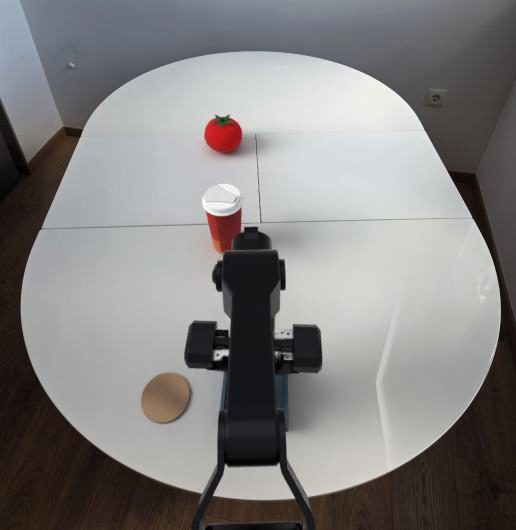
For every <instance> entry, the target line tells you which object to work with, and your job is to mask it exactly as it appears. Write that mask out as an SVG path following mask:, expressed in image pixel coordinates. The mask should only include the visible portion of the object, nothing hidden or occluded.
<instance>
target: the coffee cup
mask: <svg viewBox="0 0 516 530" xmlns="http://www.w3.org/2000/svg"><path fill="white" fill-rule="evenodd" d="M201 202H202V207H203V209H204V210H205V215H206V220H207V223H208V228H209V233H210V236H211V237H210V238H211V242H212V245H213V248H214V250H215V251H216V252H217V253H219V254H221V255H223V253H224V251H228V250H231V241H232V240H233V238H234V237H235V236H236V235H238V234H239V233H242V217H243V215H242V214H243V213H242V207H243V205H244V196H243V194H242V193H241V191H240V190H239V189H238V188H237V187H236V186H235V185H233V184H229V183H219V184H215V185H213V186H211V187H209V189H208V190H206V191H205V193H204V195H203V196H202V199H201Z"/></svg>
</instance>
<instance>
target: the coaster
mask: <svg viewBox="0 0 516 530" xmlns="http://www.w3.org/2000/svg"><path fill="white" fill-rule="evenodd" d="M190 392H191V391H190V387H189V385H188V383H187V380H186V379H185V378H184V377H183V376H182V375H180V374H178V373H176V372H162V373H159V374H157V375H155V376H154V377H153V378H151V379H150V381H148V382H147V384H146V385H145V387H144V389H143V391H142V394H141V398H140V405H141V410H142V412H143V414H144V416H145V417H146V418H147V419H148V420H150V421H151V422H153V423H156V424H168V423H171V422H173V421H175V420H177V419H178V418H179V417H181V415H182V414H183V413H184V412H185V410H186V409H187V407H188V404H189V402H190V397H191V393H190Z"/></svg>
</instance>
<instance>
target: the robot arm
mask: <svg viewBox="0 0 516 530" xmlns="http://www.w3.org/2000/svg"><path fill="white" fill-rule="evenodd" d="M272 240H273V239H271V237H270V236H269V235H268V234H266V233H264V232H262V231H259V226H244V227H243V231H241V233H239V234H238V235H236V236H235V237H234V238H233V240H232V241H231V250H228V251H224V253H223V254H222V259H217V261H216V263H215V264H214V267H213V269H212V271H211V282H212V283H213V284H214V285H215V290H216V291H217V293H222V307H223V313H224V314H225V315H226V316H227V317H228V318H229V320H230V323H229V324H230V326H229V329H219V328H218V321H217V320H198V319H197V320H193V321H192V322H190V324H189V325H188V329H187V335H186V341H185V345H184V346H185V347H184V351H183V360H184V364H185V365H186V367H187V368H188V369H195V370H197V369H198V370H199V369H200V370H206V371H212V372H219V373H224V372H225V373H228V378H227V396H226V409H224V410H220V409H219V410H218V416H217V434H216V435H217V436H216V438H217V440H216V443H217V445H216V447H217V448H216V461H217V462H216V465H215V467H214V469H213V471H212V473H211V475H210V476H209V479H208V481H207V483H206V485H205V487H204V489H203V491H202V493H201V495H200V497H199V499H198V503H197V506H196V509H195V512H194V514H193V518H192V520H191V521H192V523H191V529H190V530H316V524H315V523H316V522H315V517H314V515H313V511H312V507H311V504H310V501H309V498H308V494H307V492H306V491H305V489H304V486H303V484H302V483H301V482H300V480H299V478H298V476H297V475H296V472H295V470H294V468H293V467H292V465H291V463H290V462H289V460H288V453H287V431H286V426H285V413H284V408H277V395H276V379H275V376H278V375H286V374H288V375H299V374H319V373H320V372H321V370H322V368H323V343H322V331H321V330H322V329H320V327H319V326H318V325H317V324H311V323H308V324H305V323H292V329H291V328H286V329H285V330H283V331H280V332H276V315H278V314H279V312H280V311H281V291H286V289H287V275H286V274H287V273H286V272H287V271H286V260H285V258H280V256H279V255H280V254H279V251H278V249H275V248H273V241H272ZM274 351H276V352H277V353H276V355H277V358H276V364H275V363H274ZM278 465H279V468H280V472H281V475H282V477H283V479H284V481H285V483H286V485H287V486H288V488H289V490H290V491H291V494H292V496H293V497H294V500H295V501H296V503H297V505H298V507H299V508H300V510H301V512H302V523H301V522H300V521H299V520H282V521H281V520H280V521H278V520H277V521H245V522H210V523H209V522H208V524H207V525H206V510H207V508H208V506H209V504H210V502H211V500H212V499H213V497H214V495H215V492H216V491H217V488H218V486H219V484H220V482H221V480H222V479H223V476H224V472H225V467H226V466H227V468H228V469H229V468H230V469H231V468H234V469H235V468H263V467H264V468H265V467H267V468H268V467H269V468H270V467H278Z"/></svg>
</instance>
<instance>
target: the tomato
mask: <svg viewBox="0 0 516 530" xmlns="http://www.w3.org/2000/svg"><path fill="white" fill-rule="evenodd" d="M214 116H215V117H214V118H211V120H209V121H208V123H207V124H206V126H205V128H204V131H203V133H204V135H203V137H204V140H205V143H206V145H207V146H208V147H209V148H210V149H211V150H212V151H215V152H217V153H223V154H224V153H230V152H232V151H234V150H235V149H237V148H238V147H239V146H240V145H241V142H242V140H243V129H242V127H241V125H240V123H239V122H238V121H236V120H235V119H234V118H232V117H230V116H231V114H227V115H225V116H220V115H218V114H214Z"/></svg>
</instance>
